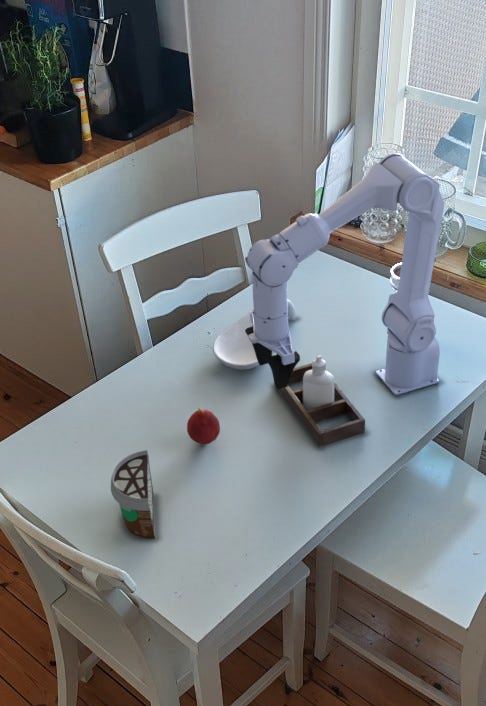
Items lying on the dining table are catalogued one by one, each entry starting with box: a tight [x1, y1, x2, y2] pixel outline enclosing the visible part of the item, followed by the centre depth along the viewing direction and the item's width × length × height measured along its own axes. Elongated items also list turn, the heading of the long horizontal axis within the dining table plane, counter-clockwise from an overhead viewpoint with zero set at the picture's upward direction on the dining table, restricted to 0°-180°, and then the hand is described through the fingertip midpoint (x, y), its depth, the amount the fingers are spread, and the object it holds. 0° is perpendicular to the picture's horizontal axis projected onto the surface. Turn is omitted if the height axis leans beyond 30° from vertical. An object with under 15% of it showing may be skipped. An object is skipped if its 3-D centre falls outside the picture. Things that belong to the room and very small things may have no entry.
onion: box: [186, 407, 221, 445], centre depth 163 cm, size 6×6×8 cm
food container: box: [110, 449, 156, 540], centre depth 149 cm, size 12×6×10 cm, turn 5°
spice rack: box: [277, 362, 366, 448], centre depth 170 cm, size 9×19×3 cm, turn 22°
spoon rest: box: [212, 299, 298, 370], centre depth 184 cm, size 24×12×7 cm, turn 150°
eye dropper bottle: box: [302, 354, 335, 410], centre depth 167 cm, size 4×6×12 cm
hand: (273, 374), depth 163 cm, fingers open, 7 cm apart
